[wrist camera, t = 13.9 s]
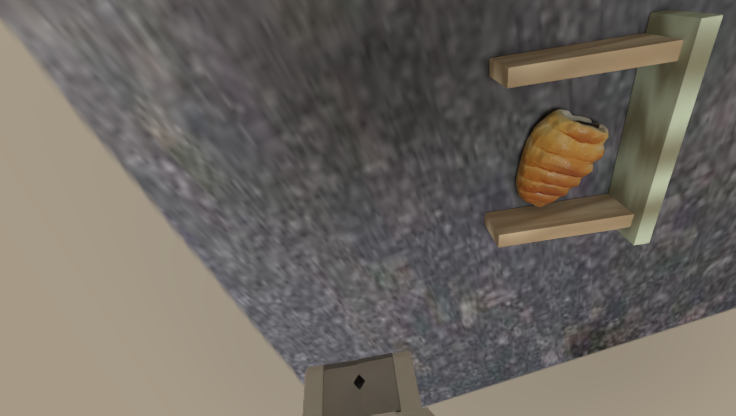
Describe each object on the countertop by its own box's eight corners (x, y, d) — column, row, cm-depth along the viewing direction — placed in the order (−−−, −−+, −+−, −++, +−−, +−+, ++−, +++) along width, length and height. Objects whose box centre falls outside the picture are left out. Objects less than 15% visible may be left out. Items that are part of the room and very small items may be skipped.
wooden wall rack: (490, 38, 30) (515, 48, 26) (669, 9, 30) (723, 14, 26) (484, 235, 41) (501, 265, 37) (616, 215, 41) (649, 242, 36)
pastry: (553, 203, 40) (572, 223, 36) (496, 190, 38) (510, 209, 35) (604, 119, 35) (631, 134, 32) (541, 101, 34) (562, 114, 30)
